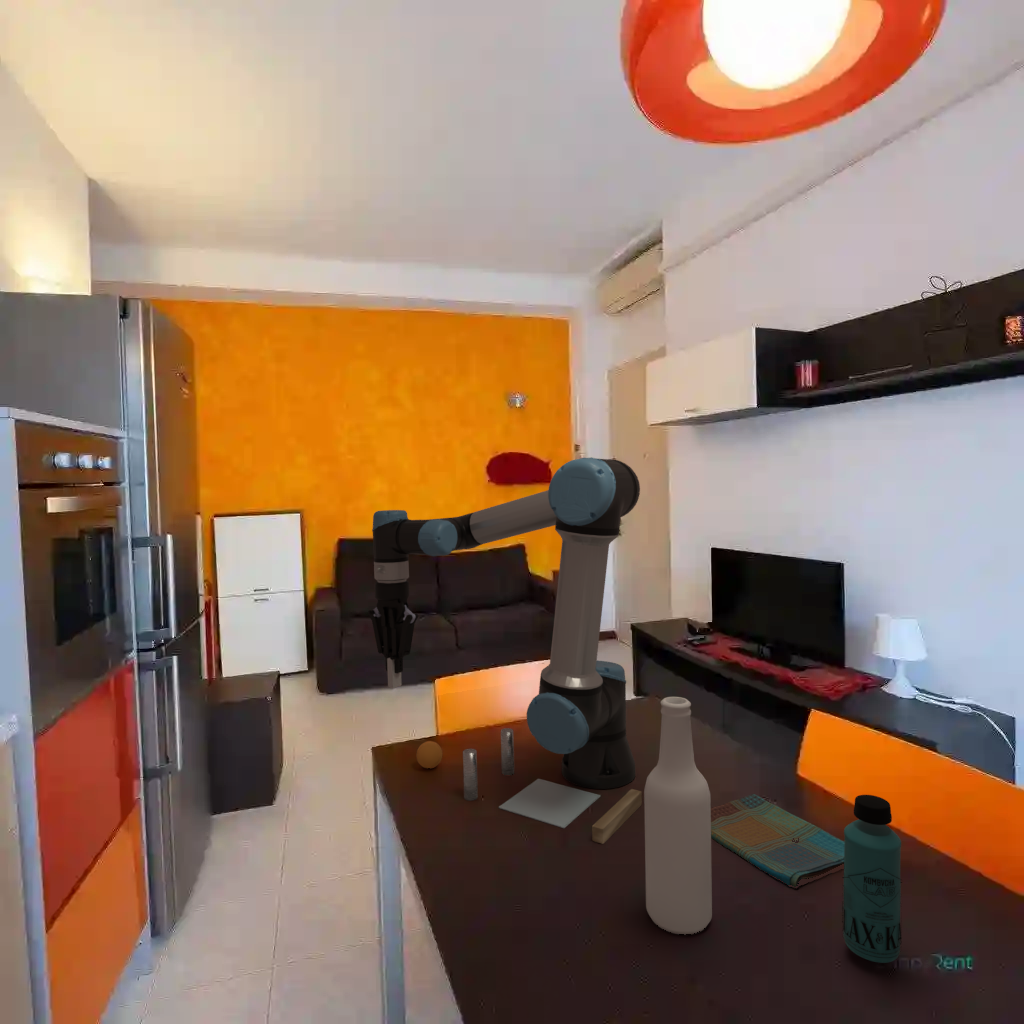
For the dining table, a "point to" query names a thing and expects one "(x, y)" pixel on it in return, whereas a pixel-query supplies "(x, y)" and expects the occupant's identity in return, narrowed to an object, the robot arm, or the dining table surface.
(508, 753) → the post right
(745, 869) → the dining table surface
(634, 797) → the wall
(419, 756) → the ball
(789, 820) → the dish towel
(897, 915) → the beverage bottle
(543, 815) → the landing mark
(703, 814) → the alcohol
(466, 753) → the post left
